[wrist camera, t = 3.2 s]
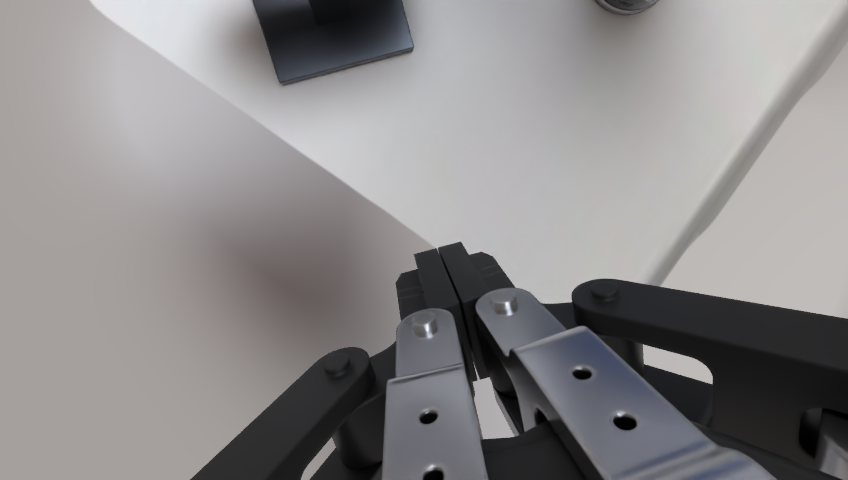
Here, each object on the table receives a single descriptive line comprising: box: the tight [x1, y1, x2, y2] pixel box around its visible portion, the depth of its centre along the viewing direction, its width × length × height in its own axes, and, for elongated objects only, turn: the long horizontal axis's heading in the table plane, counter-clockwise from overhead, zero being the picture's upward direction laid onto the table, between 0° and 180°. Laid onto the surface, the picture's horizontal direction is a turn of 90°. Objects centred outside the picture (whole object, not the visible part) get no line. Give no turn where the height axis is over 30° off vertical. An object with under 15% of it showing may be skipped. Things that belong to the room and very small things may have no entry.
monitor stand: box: [253, 0, 414, 85], centre depth 36 cm, size 9×13×7 cm
